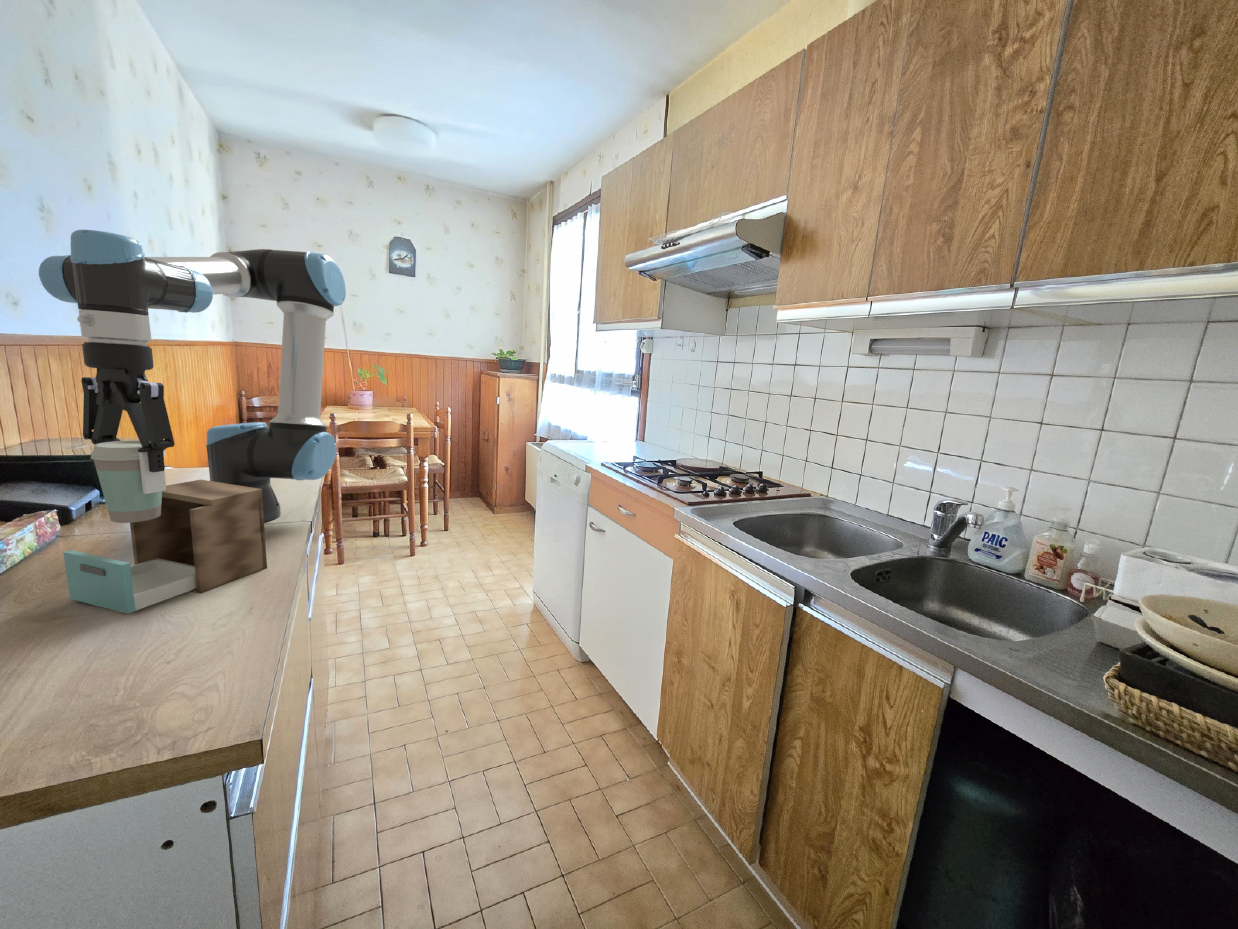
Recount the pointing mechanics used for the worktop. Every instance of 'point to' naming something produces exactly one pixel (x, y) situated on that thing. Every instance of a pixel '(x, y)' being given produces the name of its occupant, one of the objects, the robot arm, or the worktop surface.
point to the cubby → (206, 531)
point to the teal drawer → (125, 581)
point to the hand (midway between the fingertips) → (133, 488)
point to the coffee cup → (124, 482)
